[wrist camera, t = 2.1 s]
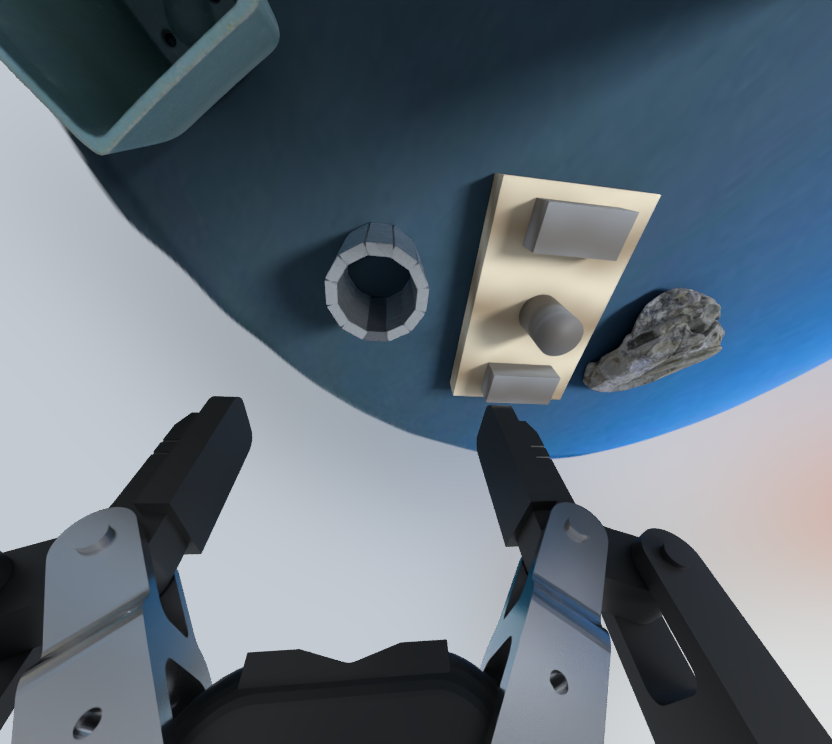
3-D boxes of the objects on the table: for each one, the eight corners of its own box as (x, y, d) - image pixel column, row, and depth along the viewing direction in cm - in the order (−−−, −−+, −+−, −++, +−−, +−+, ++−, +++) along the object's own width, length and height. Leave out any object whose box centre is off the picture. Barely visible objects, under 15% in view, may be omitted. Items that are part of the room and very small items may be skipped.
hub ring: (336, 218, 22) (321, 237, 17) (424, 227, 22) (434, 248, 18) (339, 302, 25) (328, 338, 20) (415, 307, 26) (421, 343, 21)
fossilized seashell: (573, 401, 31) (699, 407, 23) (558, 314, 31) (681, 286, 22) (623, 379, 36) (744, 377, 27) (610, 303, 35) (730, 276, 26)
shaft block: (494, 173, 21) (527, 179, 16) (641, 191, 22) (712, 202, 17) (449, 382, 31) (461, 425, 26) (551, 387, 32) (580, 428, 28)
